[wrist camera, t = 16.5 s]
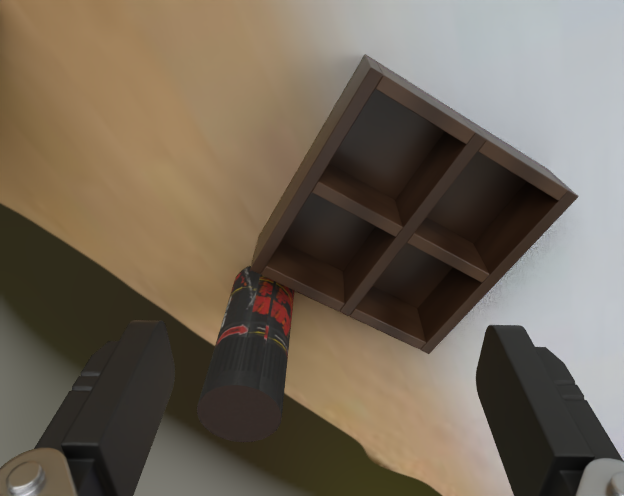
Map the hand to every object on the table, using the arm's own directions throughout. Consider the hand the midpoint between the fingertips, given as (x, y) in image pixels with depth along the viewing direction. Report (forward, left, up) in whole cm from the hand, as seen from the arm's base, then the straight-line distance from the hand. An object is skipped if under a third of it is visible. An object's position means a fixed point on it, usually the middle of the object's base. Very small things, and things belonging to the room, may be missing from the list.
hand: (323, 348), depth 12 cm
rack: (+10, -5, -28) cm, 30 cm away
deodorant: (+4, -19, -28) cm, 34 cm away
